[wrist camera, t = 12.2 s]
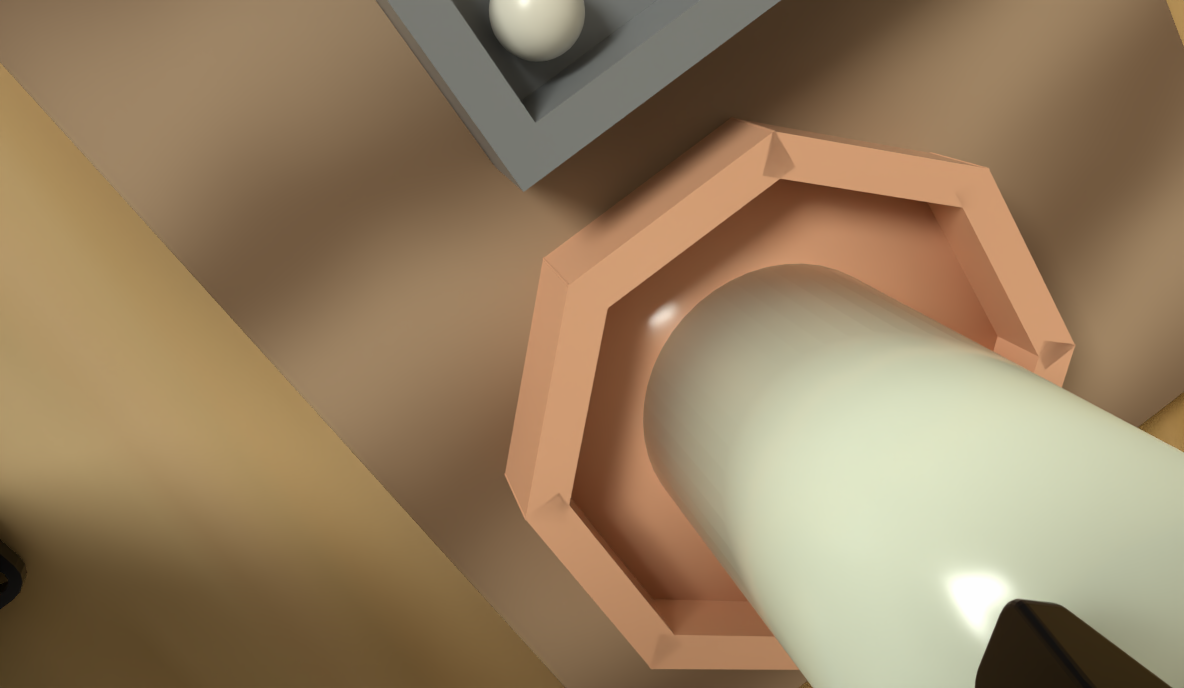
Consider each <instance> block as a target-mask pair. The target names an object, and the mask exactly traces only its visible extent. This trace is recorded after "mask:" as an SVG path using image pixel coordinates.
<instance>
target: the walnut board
mask: <svg viewBox="0 0 1184 688" xmlns="http://www.w3.org/2000/svg"><path fill="white" fill-rule="evenodd" d="M0 63H1V64H2V65H3V66H4V67H5V68H6V69H7V70H8V72H9V73H10V74H11V75H12V76H13V77H14V78H15V79H16V80H17V81H18V83H19V84H20V85H21V86H22V87H23V88H24V89H25V90H26V91H27V93H28V94H29V95H30V96H31V97H32V98H33V99H34V100H35V101H36V103H37V104H38V105H39V106H40V107H41V108H42V109H43V110H44V111H45V112H46V114H47V115H48V116H49V117H50V118H51V119H52V120H53V121H54V122H55V124H56V125H57V126H58V127H59V128H60V129H61V130H62V131H63V132H64V133H65V135H66V136H67V137H68V138H69V139H70V140H71V141H72V142H73V143H74V145H75V146H76V147H77V148H78V149H79V150H80V151H81V152H82V153H83V155H84V156H85V157H86V158H87V159H88V160H89V161H90V162H91V163H92V164H93V166H94V167H95V168H96V169H97V170H98V171H99V172H100V173H101V174H102V176H103V177H104V178H105V179H106V180H107V181H108V182H109V183H110V184H111V186H112V187H113V188H114V189H115V190H116V191H117V192H118V193H119V194H120V195H121V197H122V198H123V199H124V200H125V201H126V202H127V203H128V204H129V205H130V207H131V208H132V209H133V210H134V211H135V212H136V213H137V214H138V215H139V216H140V218H141V219H142V220H143V221H144V222H145V223H146V224H147V225H148V226H149V228H150V229H151V230H152V231H153V232H154V233H155V234H156V235H157V236H158V238H159V239H160V240H161V241H162V242H163V243H164V244H165V245H166V246H167V247H168V249H169V250H170V251H171V252H172V253H173V254H174V255H175V256H176V257H177V259H178V260H179V261H180V262H181V263H182V264H183V265H184V266H185V267H186V268H187V270H188V271H189V272H190V273H191V274H192V275H193V276H194V277H195V278H196V280H197V281H198V282H199V283H200V284H201V285H202V286H203V287H204V288H205V290H206V291H207V292H208V293H209V294H210V295H211V296H212V297H213V298H214V299H215V301H216V302H217V303H218V304H219V305H220V306H221V307H222V308H223V309H224V311H225V312H226V313H227V314H228V315H229V316H230V317H231V318H232V319H233V321H234V322H235V323H236V324H237V325H238V326H239V327H240V328H241V329H242V330H243V332H244V333H245V334H246V335H247V336H248V337H249V338H250V339H251V340H252V342H253V343H254V344H255V345H256V346H257V347H258V348H259V349H260V350H261V351H262V353H263V354H264V355H265V356H266V357H267V358H268V359H269V360H270V361H271V363H272V364H273V365H274V366H275V367H276V368H277V369H278V370H279V371H280V373H281V374H282V375H283V376H284V377H285V378H286V379H287V380H288V381H289V382H290V384H291V385H292V386H293V387H294V388H295V389H296V390H297V391H298V392H299V394H300V395H301V396H302V397H303V398H304V399H305V400H306V401H307V402H308V404H309V405H310V406H311V407H312V408H313V409H314V410H315V411H316V412H317V413H318V415H319V416H320V417H321V418H322V419H323V420H324V421H325V422H326V423H327V425H328V426H329V427H330V428H331V429H332V430H333V431H334V432H335V433H336V434H337V436H338V437H339V438H340V439H341V440H342V441H343V442H344V443H345V444H346V446H347V447H348V448H349V449H350V450H351V451H352V452H353V453H354V454H355V456H356V457H357V458H358V459H359V460H360V461H361V462H362V463H363V464H364V465H365V467H366V468H367V469H368V470H369V471H370V472H371V473H372V474H373V475H374V477H375V478H376V479H377V480H378V481H379V482H380V483H381V484H382V485H383V487H384V488H385V489H386V490H387V491H388V492H389V493H390V494H391V495H392V496H393V498H394V499H395V500H396V501H397V502H398V503H399V504H400V505H401V506H402V508H403V509H404V510H405V511H406V512H407V513H408V514H409V515H410V516H411V517H412V519H413V520H414V521H415V522H416V523H417V524H418V525H419V526H420V527H421V529H422V530H423V531H424V532H425V533H426V534H427V535H428V536H429V537H430V539H431V540H432V541H433V542H434V543H435V544H436V545H437V546H438V547H439V548H440V550H441V551H442V552H443V553H444V554H445V555H446V556H447V557H448V558H449V560H450V561H451V562H452V563H453V564H454V565H455V566H456V567H457V568H458V570H459V571H460V572H461V573H462V574H463V575H464V576H465V577H466V578H467V579H468V581H469V582H470V583H471V584H472V585H473V586H474V587H475V588H476V589H477V591H478V592H479V593H480V594H481V595H482V596H483V597H484V598H485V599H486V600H487V602H488V603H489V604H490V605H491V606H492V607H493V608H494V609H495V610H496V612H497V613H498V614H499V615H500V616H501V617H502V618H503V619H504V620H505V622H506V623H507V624H508V625H509V626H510V627H511V628H512V629H513V630H514V631H515V633H516V634H517V635H518V636H519V637H520V638H521V639H522V640H523V641H524V643H525V644H526V645H527V646H528V647H529V648H530V649H531V650H532V651H533V653H534V654H535V655H536V656H537V657H538V658H539V659H540V660H541V661H542V662H543V664H544V665H545V666H546V667H547V668H548V669H549V670H550V671H551V672H552V674H553V675H554V676H555V677H556V678H557V679H558V680H559V681H560V682H561V683H562V685H563V686H564V687H565V688H799V687H800V686H801V685H803V684H804V683H805V682H807V679H806V678H805V677H804V675H803V674H802V672H801V671H800V670H745V669H650V667H649V666H648V664H647V663H646V662H645V661H644V660H643V658H642V657H641V656H640V655H639V654H638V652H637V651H636V650H635V649H634V648H633V647H632V645H631V644H630V643H629V642H628V641H627V639H626V638H625V637H624V636H623V635H622V633H621V632H620V631H619V630H618V629H617V628H616V626H615V625H614V624H613V623H612V622H611V620H610V619H609V618H608V617H607V616H606V614H605V613H604V612H603V611H602V610H601V609H600V607H599V606H598V605H597V604H596V603H595V601H594V600H593V599H592V598H591V597H590V595H589V594H588V593H587V592H586V591H585V589H584V588H583V587H582V586H581V585H580V584H579V582H578V581H577V580H576V579H575V578H574V576H573V575H572V574H571V573H570V572H569V570H568V569H567V568H566V567H565V566H564V565H563V563H562V562H561V561H560V560H559V559H558V557H557V556H556V555H555V554H554V553H553V551H552V550H551V549H550V548H549V547H548V546H547V544H546V543H545V542H544V541H543V540H542V538H541V537H540V536H539V535H538V534H537V532H536V531H535V530H534V529H533V528H532V526H531V525H530V524H529V523H528V522H527V521H526V520H525V519H524V517H523V514H522V512H521V510H520V508H519V506H518V503H517V501H516V499H515V497H514V495H513V492H512V490H511V488H510V486H509V484H508V481H507V479H506V477H505V474H504V473H505V471H506V465H507V460H508V454H509V448H510V443H511V437H512V431H513V426H514V420H515V414H516V409H517V403H518V397H519V392H520V386H521V380H522V375H523V369H524V363H525V358H526V352H527V346H528V341H529V335H530V329H531V324H532V318H533V313H534V307H535V301H536V296H537V290H538V284H539V279H540V273H541V267H542V262H543V260H542V259H543V257H546V256H547V255H548V254H550V253H551V252H552V251H554V250H555V249H556V248H558V247H559V246H560V245H562V244H563V243H564V242H566V241H567V240H568V239H570V238H571V237H572V236H574V235H575V234H576V233H578V232H579V231H580V230H582V229H583V228H584V227H586V226H587V225H588V224H590V223H591V222H592V221H594V220H595V219H596V218H598V217H599V216H600V215H602V214H603V213H604V212H606V211H607V210H608V209H610V208H611V207H612V206H614V205H615V204H616V203H618V202H619V201H620V200H622V199H623V198H624V197H626V196H627V195H628V194H630V193H631V192H632V191H634V190H635V189H636V188H638V187H639V186H640V185H642V184H643V183H644V182H646V181H647V180H648V179H650V178H651V177H653V176H654V175H655V174H657V173H658V172H659V171H661V170H662V169H663V168H665V167H666V166H667V165H669V164H670V163H671V162H673V161H674V160H675V159H677V158H678V157H679V156H681V155H682V154H683V153H685V152H686V151H687V150H689V149H690V148H691V147H693V146H694V145H695V144H697V143H698V142H699V141H701V140H702V139H703V138H705V137H706V136H707V135H709V134H710V133H711V132H713V131H714V130H715V129H717V128H718V127H719V126H721V125H722V124H723V123H725V122H726V121H727V120H729V119H730V118H731V117H733V118H736V119H741V120H746V121H752V122H758V123H763V124H769V125H775V126H780V127H786V128H792V129H797V130H803V131H809V132H814V133H820V134H826V135H832V136H837V137H843V138H849V139H854V140H860V141H866V142H871V143H877V144H883V145H888V146H894V147H900V148H905V149H911V150H917V151H922V152H928V153H930V152H932V153H936V154H939V155H943V156H947V157H950V158H954V159H958V160H961V161H965V162H969V163H972V164H976V165H980V166H984V167H987V168H989V169H990V172H991V174H992V176H993V178H994V180H995V182H996V184H997V187H998V189H999V191H1000V193H1001V195H1002V197H1003V199H1004V201H1005V203H1006V205H1007V207H1008V209H1009V211H1010V213H1011V215H1012V217H1013V219H1014V221H1015V223H1016V225H1017V227H1018V229H1019V231H1020V234H1021V236H1022V238H1023V240H1024V242H1025V244H1026V246H1027V248H1028V250H1029V252H1030V254H1031V256H1032V258H1033V260H1034V262H1035V264H1036V266H1037V268H1038V270H1039V272H1040V274H1041V276H1042V278H1043V281H1044V283H1045V285H1046V287H1047V289H1048V291H1049V293H1050V295H1051V297H1052V299H1053V301H1054V303H1055V305H1056V307H1057V309H1058V311H1059V313H1060V315H1061V317H1062V319H1063V321H1064V323H1065V325H1066V328H1067V330H1068V332H1069V334H1070V336H1071V338H1072V340H1073V342H1074V344H1076V345H1075V348H1074V351H1073V354H1072V357H1071V360H1070V363H1069V366H1068V370H1067V373H1066V376H1065V379H1064V382H1063V385H1062V388H1063V389H1065V390H1067V391H1069V392H1071V393H1073V394H1075V395H1076V396H1078V397H1080V398H1082V399H1084V400H1086V401H1088V402H1090V403H1092V404H1093V405H1095V406H1097V407H1099V408H1101V409H1103V410H1105V411H1107V412H1108V413H1110V414H1112V415H1114V416H1116V417H1118V418H1120V419H1122V420H1124V421H1125V422H1127V423H1129V424H1131V425H1133V426H1135V427H1137V428H1138V427H1139V426H1140V425H1141V424H1143V423H1144V422H1145V421H1147V420H1148V419H1149V418H1151V417H1152V416H1153V415H1154V414H1156V413H1157V412H1158V411H1160V410H1161V409H1162V408H1164V407H1165V406H1166V405H1168V404H1169V403H1170V402H1171V401H1173V400H1174V399H1175V398H1177V397H1178V396H1179V395H1181V394H1182V393H1183V392H1184V47H1183V44H1182V41H1181V39H1180V36H1179V33H1178V31H1177V28H1176V26H1175V23H1174V20H1173V18H1172V15H1171V12H1170V10H1169V7H1168V4H1167V2H1166V0H781V1H779V2H778V3H777V4H775V5H774V6H773V7H771V8H770V9H768V10H767V11H766V12H764V13H763V14H762V15H760V16H759V17H758V18H756V19H755V20H754V21H752V22H751V23H750V24H748V25H747V26H746V27H744V28H743V29H742V30H740V31H739V32H738V33H736V34H735V35H734V36H732V37H731V38H730V39H728V40H727V41H726V42H724V43H723V44H722V45H720V46H719V47H718V48H716V49H715V50H714V51H712V52H711V53H709V54H708V55H707V56H705V57H704V58H703V59H701V60H700V61H699V62H697V63H696V64H695V65H693V66H692V67H691V68H689V69H688V70H687V71H685V72H684V73H683V74H681V75H680V76H679V77H677V78H676V79H675V80H673V81H672V82H671V83H669V84H668V85H667V86H665V87H664V88H663V89H661V90H660V91H659V92H657V93H656V94H654V95H653V96H652V97H650V98H649V99H648V100H646V101H645V102H644V103H642V104H641V105H640V106H638V107H637V108H636V109H634V110H633V111H632V112H630V113H629V114H628V115H626V116H625V117H624V118H622V119H621V120H620V121H618V122H617V123H616V124H614V125H613V126H612V127H610V128H609V129H608V130H606V131H605V132H604V133H602V134H601V135H600V136H598V137H597V138H595V139H594V140H593V141H591V142H590V143H589V144H587V145H586V146H585V147H583V148H582V149H581V150H579V151H578V152H577V153H575V154H574V155H573V156H571V157H570V158H569V159H567V160H566V161H565V162H563V163H562V164H561V165H559V166H558V167H557V168H555V169H554V170H553V171H551V172H550V173H549V174H547V175H546V176H545V177H543V178H542V179H540V180H539V181H538V182H536V183H535V184H534V185H532V186H531V187H530V188H528V189H527V190H526V191H524V192H523V191H522V190H521V189H520V188H519V187H518V186H516V185H515V184H514V183H513V182H512V181H511V180H510V179H508V178H507V177H506V176H505V175H504V174H503V173H502V172H500V171H499V170H498V169H497V168H496V167H495V166H494V165H493V163H492V162H491V161H490V159H489V158H488V156H487V155H486V154H485V152H484V151H483V149H482V148H481V147H480V145H479V144H478V142H477V141H476V140H475V138H474V137H473V135H472V134H471V133H470V131H469V130H468V128H467V127H466V126H465V124H464V123H463V122H462V120H461V119H460V117H459V116H458V115H457V113H456V112H455V110H454V109H453V108H452V106H451V105H450V103H449V102H448V101H447V99H446V98H445V96H444V95H443V94H442V92H441V91H440V89H439V88H438V87H437V85H436V84H435V83H434V81H433V80H432V78H431V77H430V76H429V74H428V73H427V71H426V70H425V69H424V67H423V66H422V64H421V63H420V62H419V60H418V59H417V57H416V56H415V55H414V53H413V52H412V50H411V49H410V48H409V46H408V45H407V44H406V42H405V41H404V39H403V38H402V37H401V35H400V34H399V32H398V31H397V30H396V28H395V27H394V25H393V24H392V23H391V21H390V20H389V18H388V17H387V16H386V14H385V13H384V11H383V10H382V9H381V7H380V6H379V5H378V3H377V2H376V0H0Z"/></svg>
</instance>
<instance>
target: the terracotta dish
mask: <svg viewBox="0 0 1184 688" xmlns="http://www.w3.org/2000/svg"><path fill="white" fill-rule="evenodd" d="M542 260H543V262H542V267H541V273H540V279H539V284H538V290H537V296H536V301H535V307H534V313H533V318H532V324H531V329H530V335H529V341H528V346H527V352H526V358H525V363H524V369H523V375H522V380H521V386H520V392H519V397H518V403H517V409H516V414H515V420H514V426H513V431H512V437H511V443H510V448H509V454H508V460H507V465H506V471H505V473H504V474H505V477H506V479H507V481H508V484H509V486H510V488H511V490H512V492H513V495H514V497H515V499H516V501H517V503H518V506H519V508H520V510H521V512H522V514H523V517H524V519H525V520H526V521H527V522H528V523H529V524H530V525H531V526H532V528H533V529H534V530H535V531H536V532H537V534H538V535H539V536H540V537H541V538H542V540H543V541H544V542H545V543H546V544H547V546H548V547H549V548H550V549H551V550H552V551H553V553H554V554H555V555H556V556H557V557H558V559H559V560H560V561H561V562H562V563H563V565H564V566H565V567H566V568H567V569H568V570H569V572H570V573H571V574H572V575H573V576H574V578H575V579H576V580H577V581H578V582H579V584H580V585H581V586H582V587H583V588H584V589H585V591H586V592H587V593H588V594H589V595H590V597H591V598H592V599H593V600H594V601H595V603H596V604H597V605H598V606H599V607H600V609H601V610H602V611H603V612H604V613H605V614H606V616H607V617H608V618H609V619H610V620H611V622H612V623H613V624H614V625H615V626H616V628H617V629H618V630H619V631H620V632H621V633H622V635H623V636H624V637H625V638H626V639H627V641H628V642H629V643H630V644H631V645H632V647H633V648H634V649H635V650H636V651H637V652H638V654H639V655H640V656H641V657H642V658H643V660H644V661H645V662H646V663H647V664H648V666H649V667H650V669H745V670H799V668H798V667H797V666H796V664H795V663H794V662H793V660H792V659H791V658H790V656H789V655H788V654H787V652H786V651H785V650H784V648H783V647H782V646H781V644H780V643H779V642H778V640H777V639H776V638H775V636H774V635H773V634H772V632H771V631H770V630H769V628H768V627H767V626H766V624H765V623H764V622H763V620H762V619H761V617H760V616H759V615H758V613H757V612H756V611H755V609H754V608H753V607H752V605H751V604H750V603H749V601H748V600H747V599H746V597H745V596H744V595H743V593H742V592H741V591H740V589H739V588H738V587H737V585H736V584H735V583H734V581H733V580H732V579H731V577H730V576H729V575H728V573H727V572H726V571H725V569H724V568H723V567H722V565H721V564H720V562H719V561H718V560H717V558H716V557H715V556H714V554H713V553H712V552H711V550H710V549H709V548H708V546H707V545H706V544H705V542H704V541H703V540H702V538H701V537H700V536H699V534H698V533H697V532H696V530H695V529H694V528H693V526H692V525H691V524H690V522H689V521H688V520H687V518H686V517H685V516H684V514H683V513H682V512H681V510H680V509H679V507H678V506H677V505H676V503H675V502H674V501H673V499H672V498H671V497H670V495H669V494H668V493H667V491H666V490H665V489H664V487H663V486H662V484H661V483H660V481H659V479H658V477H657V476H656V474H655V472H654V470H653V467H652V465H651V462H650V459H649V457H648V453H647V449H646V444H645V440H644V429H643V411H644V400H645V395H646V390H647V385H648V382H649V379H650V375H651V372H652V369H653V366H654V364H655V362H656V360H657V358H658V356H659V354H660V351H661V349H662V348H663V346H664V344H665V343H666V341H667V340H668V338H669V336H670V335H671V333H672V332H673V330H674V329H675V328H676V327H677V325H678V324H679V323H680V322H681V320H682V319H683V318H684V317H685V316H686V315H687V314H688V313H689V312H690V311H691V310H692V309H693V308H694V307H695V306H696V305H697V304H698V303H699V302H700V301H701V300H703V299H704V298H705V297H707V296H708V295H709V294H710V293H712V292H713V291H714V290H716V289H718V288H719V287H721V286H723V285H724V284H726V283H728V282H729V281H731V280H733V279H735V278H738V277H740V276H742V275H744V274H746V273H749V272H752V271H755V270H759V269H762V268H765V267H770V266H776V265H782V264H802V263H803V264H812V265H821V266H824V267H828V268H832V269H836V270H838V271H841V272H843V273H845V274H848V275H850V276H852V277H854V278H856V279H858V280H860V281H862V282H864V283H865V284H867V285H869V286H871V287H873V288H875V289H877V290H879V291H881V292H882V293H884V294H886V295H888V296H890V297H892V298H894V299H896V300H897V301H899V302H901V303H903V304H905V305H907V306H909V307H911V308H913V309H914V310H916V311H918V312H920V313H922V314H924V315H926V316H928V317H929V318H931V319H933V320H935V321H937V322H939V323H941V324H943V325H945V326H946V327H948V328H950V329H952V330H954V331H956V332H958V333H960V334H962V335H963V336H965V337H967V338H969V339H971V340H973V341H975V342H977V343H978V344H980V345H982V346H984V347H986V348H988V349H990V350H992V351H994V352H995V353H997V354H999V355H1001V356H1003V357H1005V358H1007V359H1009V360H1011V361H1012V362H1014V363H1016V364H1018V365H1020V366H1022V367H1024V368H1026V369H1027V370H1029V371H1031V372H1033V373H1035V374H1037V375H1039V376H1041V377H1043V378H1044V379H1046V380H1048V381H1050V382H1052V383H1054V384H1056V385H1058V386H1059V387H1061V388H1062V385H1063V382H1064V379H1065V376H1066V373H1067V370H1068V366H1069V363H1070V360H1071V357H1072V354H1073V351H1074V348H1075V345H1076V344H1074V342H1073V340H1072V338H1071V336H1070V334H1069V332H1068V330H1067V328H1066V325H1065V323H1064V321H1063V319H1062V317H1061V315H1060V313H1059V311H1058V309H1057V307H1056V305H1055V303H1054V301H1053V299H1052V297H1051V295H1050V293H1049V291H1048V289H1047V287H1046V285H1045V283H1044V281H1043V278H1042V276H1041V274H1040V272H1039V270H1038V268H1037V266H1036V264H1035V262H1034V260H1033V258H1032V256H1031V254H1030V252H1029V250H1028V248H1027V246H1026V244H1025V242H1024V240H1023V238H1022V236H1021V234H1020V231H1019V229H1018V227H1017V225H1016V223H1015V221H1014V219H1013V217H1012V215H1011V213H1010V211H1009V209H1008V207H1007V205H1006V203H1005V201H1004V199H1003V197H1002V195H1001V193H1000V191H999V189H998V187H997V184H996V182H995V180H994V178H993V176H992V174H991V172H990V169H989V168H987V167H984V166H980V165H976V164H972V163H969V162H965V161H961V160H958V159H954V158H950V157H947V156H943V155H939V154H936V153H932V152H930V153H928V152H922V151H917V150H911V149H905V148H900V147H894V146H888V145H883V144H877V143H871V142H866V141H860V140H854V139H849V138H843V137H837V136H832V135H826V134H820V133H814V132H809V131H803V130H797V129H792V128H786V127H780V126H775V125H769V124H763V123H758V122H752V121H746V120H741V119H736V118H733V117H731V118H730V119H729V120H727V121H726V122H725V123H723V124H722V125H721V126H719V127H718V128H717V129H715V130H714V131H713V132H711V133H710V134H709V135H707V136H706V137H705V138H703V139H702V140H701V141H699V142H698V143H697V144H695V145H694V146H693V147H691V148H690V149H689V150H687V151H686V152H685V153H683V154H682V155H681V156H679V157H678V158H677V159H675V160H674V161H673V162H671V163H670V164H669V165H667V166H666V167H665V168H663V169H662V170H661V171H659V172H658V173H657V174H655V175H654V176H653V177H651V178H650V179H648V180H647V181H646V182H644V183H643V184H642V185H640V186H639V187H638V188H636V189H635V190H634V191H632V192H631V193H630V194H628V195H627V196H626V197H624V198H623V199H622V200H620V201H619V202H618V203H616V204H615V205H614V206H612V207H611V208H610V209H608V210H607V211H606V212H604V213H603V214H602V215H600V216H599V217H598V218H596V219H595V220H594V221H592V222H591V223H590V224H588V225H587V226H586V227H584V228H583V229H582V230H580V231H579V232H578V233H576V234H575V235H574V236H572V237H571V238H570V239H568V240H567V241H566V242H564V243H563V244H562V245H560V246H559V247H558V248H556V249H555V250H554V251H552V252H551V253H550V254H548V255H547V256H546V257H543V259H542Z"/></svg>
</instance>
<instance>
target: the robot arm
mask: <svg viewBox="0 0 1184 688" xmlns="http://www.w3.org/2000/svg"><path fill="white" fill-rule="evenodd" d="M0 572H1V573H3V574H5V576H6V577H7V579H8V581H6V582H4V583H2V584H0V609H1V608H3V607H4V606H5V605H7V604H8V603H9V602H11V601H12V600H13V599H14V598H15V597H16V596H17V595H18V594H19V593H20V591H21V588H22V586H23V583H24V581H25V578H26V574H27V570H26V565H25V563H24V562H23V560H22V559H21V558H20V556H19V555H17V554H16V553H15V552H14V551H13V550H12V549H11V548H9V547H8V546H7V545H6V544H5V543H4V542H3V541H1V540H0ZM975 688H1172V687H1171V686H1170V685H1168V684H1167V683H1166V682H1164V681H1163V680H1162V679H1160V678H1159V677H1158V676H1156V675H1155V674H1154V673H1152V672H1151V671H1149V670H1148V669H1147V668H1145V667H1144V666H1143V665H1141V664H1140V663H1139V662H1137V661H1136V660H1135V659H1133V658H1132V657H1131V656H1129V655H1128V654H1127V653H1125V652H1124V651H1123V650H1121V649H1120V648H1119V647H1117V646H1116V645H1115V644H1113V643H1112V642H1111V641H1109V640H1108V639H1107V638H1105V637H1104V636H1103V635H1101V634H1100V633H1099V632H1097V631H1096V630H1095V629H1093V628H1092V627H1091V626H1089V625H1088V624H1087V623H1085V622H1084V621H1083V620H1081V619H1080V618H1079V617H1077V616H1076V615H1075V614H1073V613H1072V612H1071V611H1069V610H1068V609H1067V608H1065V607H1064V606H1062V605H1060V604H1057V603H1052V602H1044V601H1036V600H1027V599H1014V600H1011V601H1009V602H1008V603H1007V604H1006V605H1005V606H1004V607H1003V609H1002V611H1001V613H1000V615H999V617H998V620H997V622H996V625H995V627H994V630H993V632H992V635H991V637H990V640H989V642H988V645H987V647H986V650H985V652H984V655H983V657H982V660H981V662H980V665H979V667H978V670H977V674H976V679H975Z"/></svg>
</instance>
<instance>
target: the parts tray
mask: <svg viewBox="0 0 1184 688" xmlns="http://www.w3.org/2000/svg"><path fill="white" fill-rule="evenodd" d="M779 1H781V0H376V2H377V3H378V5H379V6H380V7H381V9H382V10H383V11H384V13H385V14H386V16H387V17H388V18H389V20H390V21H391V23H392V24H393V25H394V27H395V28H396V30H397V31H398V32H399V34H400V35H401V37H402V38H403V39H404V41H405V42H406V44H407V45H408V46H409V48H410V49H411V50H412V52H413V53H414V55H415V56H416V57H417V59H418V60H419V62H420V63H421V64H422V66H423V67H424V69H425V70H426V71H427V73H428V74H429V76H430V77H431V78H432V80H433V81H434V83H435V84H436V85H437V87H438V88H439V89H440V91H441V92H442V94H443V95H444V96H445V98H446V99H447V101H448V102H449V103H450V105H451V106H452V108H453V109H454V110H455V112H456V113H457V115H458V116H459V117H460V119H461V120H462V122H463V123H464V124H465V126H466V127H467V128H468V130H469V131H470V133H471V134H472V135H473V137H474V138H475V140H476V141H477V142H478V144H479V145H480V147H481V148H482V149H483V151H484V152H485V154H486V155H487V156H488V158H489V159H490V161H491V162H492V163H493V165H494V166H495V167H496V168H497V169H498V170H499V171H500V172H502V173H503V174H504V175H505V176H506V177H507V178H508V179H510V180H511V181H512V182H513V183H514V184H515V185H516V186H518V187H519V188H520V189H521V190H522V191H523V192H524V191H526V190H527V189H528V188H530V187H531V186H532V185H534V184H535V183H536V182H538V181H539V180H540V179H542V178H543V177H545V176H546V175H547V174H549V173H550V172H551V171H553V170H554V169H555V168H557V167H558V166H559V165H561V164H562V163H563V162H565V161H566V160H567V159H569V158H570V157H571V156H573V155H574V154H575V153H577V152H578V151H579V150H581V149H582V148H583V147H585V146H586V145H587V144H589V143H590V142H591V141H593V140H594V139H595V138H597V137H598V136H600V135H601V134H602V133H604V132H605V131H606V130H608V129H609V128H610V127H612V126H613V125H614V124H616V123H617V122H618V121H620V120H621V119H622V118H624V117H625V116H626V115H628V114H629V113H630V112H632V111H633V110H634V109H636V108H637V107H638V106H640V105H641V104H642V103H644V102H645V101H646V100H648V99H649V98H650V97H652V96H653V95H654V94H656V93H657V92H659V91H660V90H661V89H663V88H664V87H665V86H667V85H668V84H669V83H671V82H672V81H673V80H675V79H676V78H677V77H679V76H680V75H681V74H683V73H684V72H685V71H687V70H688V69H689V68H691V67H692V66H693V65H695V64H696V63H697V62H699V61H700V60H701V59H703V58H704V57H705V56H707V55H708V54H709V53H711V52H712V51H714V50H715V49H716V48H718V47H719V46H720V45H722V44H723V43H724V42H726V41H727V40H728V39H730V38H731V37H732V36H734V35H735V34H736V33H738V32H739V31H740V30H742V29H743V28H744V27H746V26H747V25H748V24H750V23H751V22H752V21H754V20H755V19H756V18H758V17H759V16H760V15H762V14H763V13H764V12H766V11H767V10H768V9H770V8H771V7H773V6H774V5H775V4H777V3H778V2H779Z"/></svg>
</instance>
